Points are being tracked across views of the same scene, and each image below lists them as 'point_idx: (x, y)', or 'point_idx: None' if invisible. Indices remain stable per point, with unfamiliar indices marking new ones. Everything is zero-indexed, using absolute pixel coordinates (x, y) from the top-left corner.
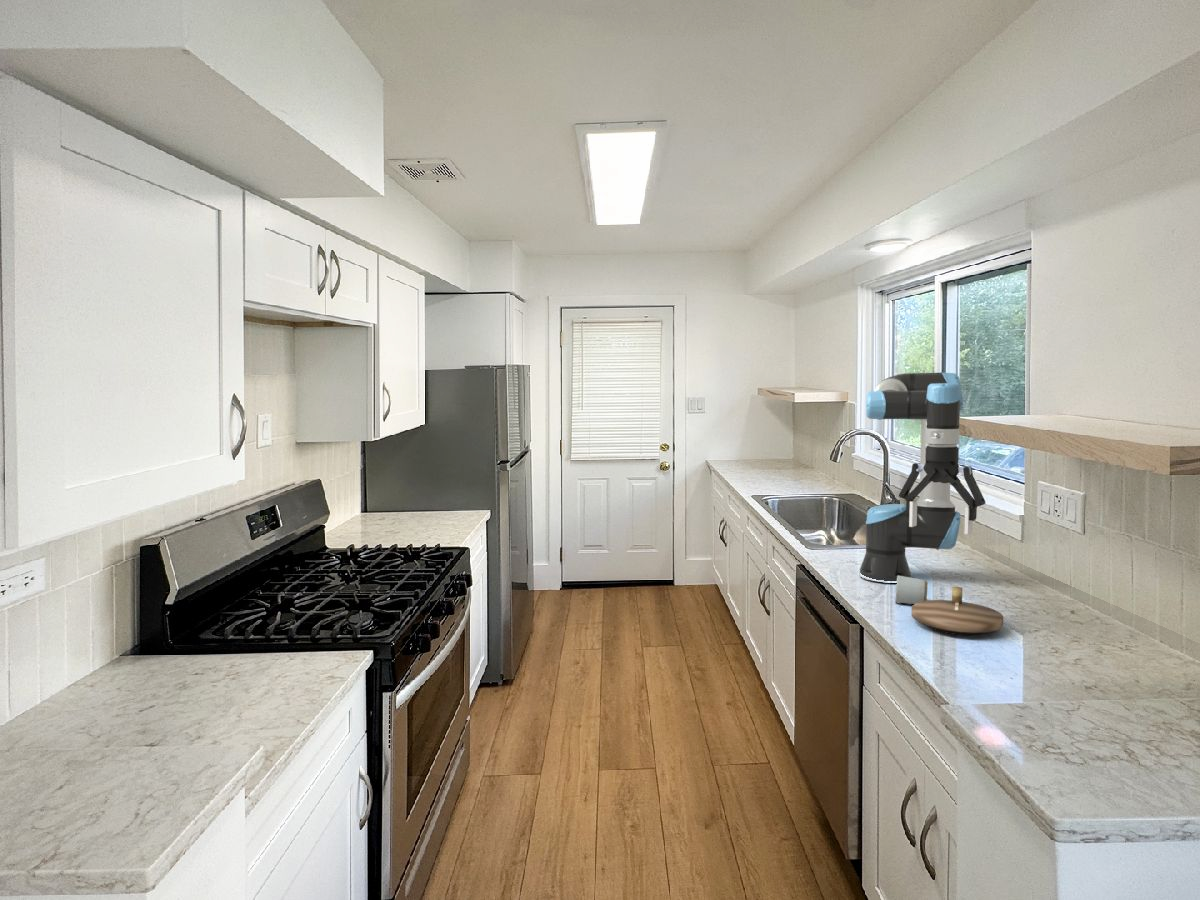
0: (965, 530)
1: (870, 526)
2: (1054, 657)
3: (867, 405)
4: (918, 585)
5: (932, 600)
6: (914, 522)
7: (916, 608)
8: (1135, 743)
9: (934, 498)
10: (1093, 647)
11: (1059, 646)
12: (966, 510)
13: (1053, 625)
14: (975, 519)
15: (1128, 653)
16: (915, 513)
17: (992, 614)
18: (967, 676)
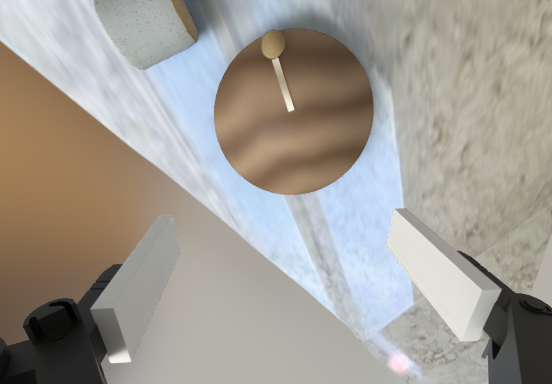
0: (396, 254)
1: None
2: (438, 163)
3: None
4: (173, 36)
5: (227, 71)
6: (171, 245)
7: (232, 152)
8: None
9: None
10: (491, 72)
11: (444, 107)
12: (455, 325)
13: None
14: (462, 255)
15: (537, 65)
16: (154, 264)
17: (352, 88)
18: (360, 285)
